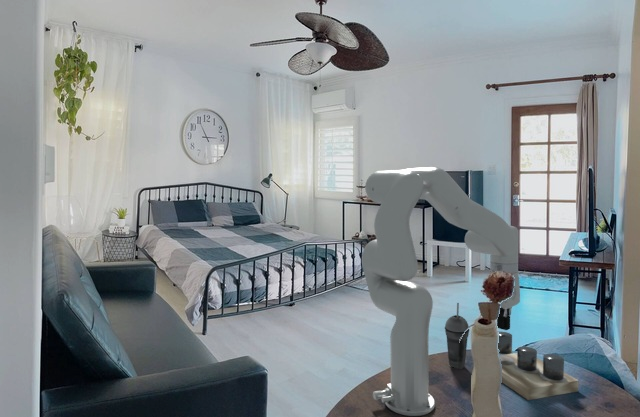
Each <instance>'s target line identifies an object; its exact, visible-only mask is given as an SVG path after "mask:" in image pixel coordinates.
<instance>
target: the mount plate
mask: <svg viewBox="0 0 640 417" xmlns="http://www.w3.org/2000/svg"><path fill="white" fill-rule="evenodd" d="M500 359H501V364H502V382H501V383H502V384H504V385H506V386H507V387H508V388H510V389H511V390H513V391H514V392H516V393H517V394H519V395H520V396H521V397H523V398H525V400H527V401H531V400H532V401H533V400H537V399H543V398H549V397H553V396H555V397H556V396H558V395H559V396H560V395H564V394H570V393H576V392H579V379H577V378H575V377H573V376H572V375H569V373H568V374H567V373H566V372H564V378H563V379H562V380H553V379H549V378H547V377H545V376H544V375H543V359H542V360H541V359H540V358H538V357H537V369H536V370H535V371H526V370H522V369H520V368H518V367H517V352H513V353H511V354H500Z"/></svg>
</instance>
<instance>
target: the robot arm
mask: <svg viewBox="0 0 640 417" xmlns="http://www.w3.org/2000/svg"><path fill="white" fill-rule="evenodd" d="M364 188H365V193H366V195H367V197H368V198H369V200H371V202H374V203H375V204H380V206H379V207H378V210H377V211H376V215H375V216H374V217H375V218H374V222H373V223H374V224H373V227H374V233H375V234H374V235H375V238H376V239H373V240H371V241H369V242H368V243H367V244H366V245H365V246H364V249H363V251H362V253H361V266H362V272H363V273H364V274H363V275H364V278H365V282H366V286H367V289H368V293H369V296H370V299H371V301H372V303H373V305H374V306H375V307H377V309H379V310H380V311H383V312H386V313H388V314H390V315H391V316H394V317H395V322H394V324H393V326H392V328H391V331H390V339H389V340H390V342H389V343H390V345H389V346H390V383H387V385H386V388H384V389H382V390H376V391H373V392H372V397H373V400H374V401H375V400H376V401H377V400H379V399H380V400H381V402H382V403H385V406H386V407H387V408H388V409H389V410H391V411H392V412H393V413H396V414H400V415H403V416H408V417H420V416H424V415H428V414H429V413H431V412H433V411H434V409H435V406H436V404H435V403H436V402H435V399H434V397H433V395H431V394H430V393H429V331H430V322H431V318H432V312H433V303H434V300H433V297H432V295H431V293H430V292H429V290H428V289H427V288H425V287H424V286H422V285H421V284H418V283H416V282H413V281H411V280H412V279H414V277H416V275H417V273H418V270H419V269H418V267H419V264H418V259H417V254H416V251H415V246H414V241H413V237H412V232H411V228H410V227H411V226H410V219H411V214H412V212H413V210H414V209H415V206H416V205H417V203H418V201H419V200H424V201H426V202H428V203H429V204H430V205H431V206H432V207H433V208H434V210H436V211H437V212H438V213H439V215H440V216H441V217H442V218H443V219H444V220H445V221H447V223H449V224H450V225H452V226H455V227H457V228H460V229H463V230H466V231H467V232H466V233H465V236H464V244H465V246H466V247H467V248H468V249H469V250H471V251H472V252H475V253H479V254H486V255H490V263H489V264H490V265H489V266H490V267H489V268H490V269H489V270H490V274H491V273H493V272H495V271H506V272H509V273H511V274H513V275H514V277H515V288H514V292H513V296H512V297H511V298H509V299H507V300H506V301H503V302H502V303H501V308H500V314H499V317H498V319H497V318H496V327H497V326H498V328H497V329H500V330H504V331H508V330H510V329H511V315H512V308H513V307H514V306H517V305H518V304H519V303H520V302H521V291H520V290H521V289H520V277H519V230H518V228H517V227H516V226H513V225H509V224H508V223H507V222H506V220H504V218H502V217H501V216H500V215H498V214H497V213H496V212H493V211H491V209H488V208H486V207H485V206H483V205H482V204H480V203H478V202H476V201H474V200H472V199H471V197H469V195H467V194H466V192H465V191H464V190H463V189H462V188H461V187H460V185H458V183H457V182H456V180H454V179H453V177H451V175H450V174H449V173H448V172H447V171H446V170H444V169H443V168H440V167H435V166H434V167H433V166H429V167H413V168H412V167H411V168H404V169H390V170H377V171H375V172H373V173H372V174H370V175H369V176H368V178H367V179H366V180H365V187H364Z"/></svg>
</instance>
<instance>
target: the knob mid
mask: <svg viewBox="0 0 640 417" xmlns="http://www.w3.org/2000/svg"><path fill="white" fill-rule="evenodd" d="M516 353H517V367H518V368H520V369H522V370H526V371H535V370H536V369H537V358H538V357H537V356H538V351H537V349H535V348H534V347H529V346H519V347H517V352H516Z"/></svg>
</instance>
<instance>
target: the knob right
mask: <svg viewBox="0 0 640 417" xmlns="http://www.w3.org/2000/svg"><path fill="white" fill-rule="evenodd" d="M542 357H543V358H542V361H543V375H544V376H545V377H547V378H549V379H553V380H562V379H563V378H564V373H565V358H564V357H562V356H560V355H558V354H553V353H546V354H544V355H543V356H542Z"/></svg>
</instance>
